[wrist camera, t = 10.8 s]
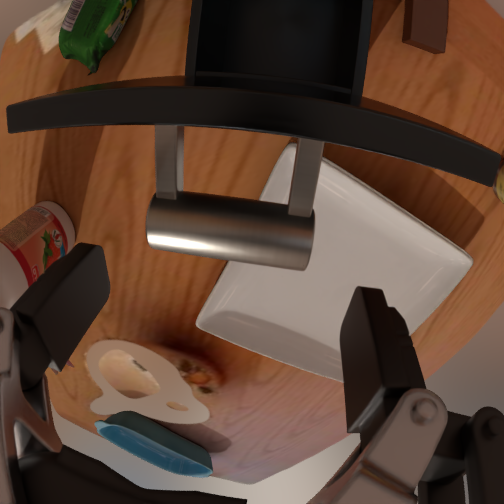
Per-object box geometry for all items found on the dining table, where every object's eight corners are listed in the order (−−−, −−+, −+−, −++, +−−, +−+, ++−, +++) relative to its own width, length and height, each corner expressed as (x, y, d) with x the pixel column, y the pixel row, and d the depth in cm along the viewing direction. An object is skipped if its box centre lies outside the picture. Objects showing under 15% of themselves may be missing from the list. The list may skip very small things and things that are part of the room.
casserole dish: (92, 410, 72) (84, 428, 66) (120, 395, 63) (109, 418, 56) (188, 462, 83) (184, 479, 77) (232, 454, 73) (228, 475, 67)
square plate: (465, 246, 33) (478, 262, 30) (351, 369, 47) (353, 388, 44) (289, 133, 29) (289, 140, 26) (198, 310, 43) (191, 329, 40)
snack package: (69, 59, 26) (42, 61, 22) (124, -50, 18) (102, -62, 14) (110, 74, 27) (84, 76, 23) (172, -42, 19) (154, -57, 15)
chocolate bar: (405, -19, 18) (413, -25, 16) (438, -6, 18) (448, -11, 16) (401, 42, 22) (410, 39, 20) (434, 54, 22) (445, 53, 20)
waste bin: (229, -39, 20) (205, -79, 11) (353, -26, 19) (376, -62, 11) (215, 81, 27) (183, 81, 19) (339, 96, 27) (361, 102, 18)
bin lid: (4, 106, 5) (36, 267, 8) (503, 155, 5) (425, 331, 8) (182, 75, 18) (179, 146, 21) (363, 96, 18) (349, 168, 21)
